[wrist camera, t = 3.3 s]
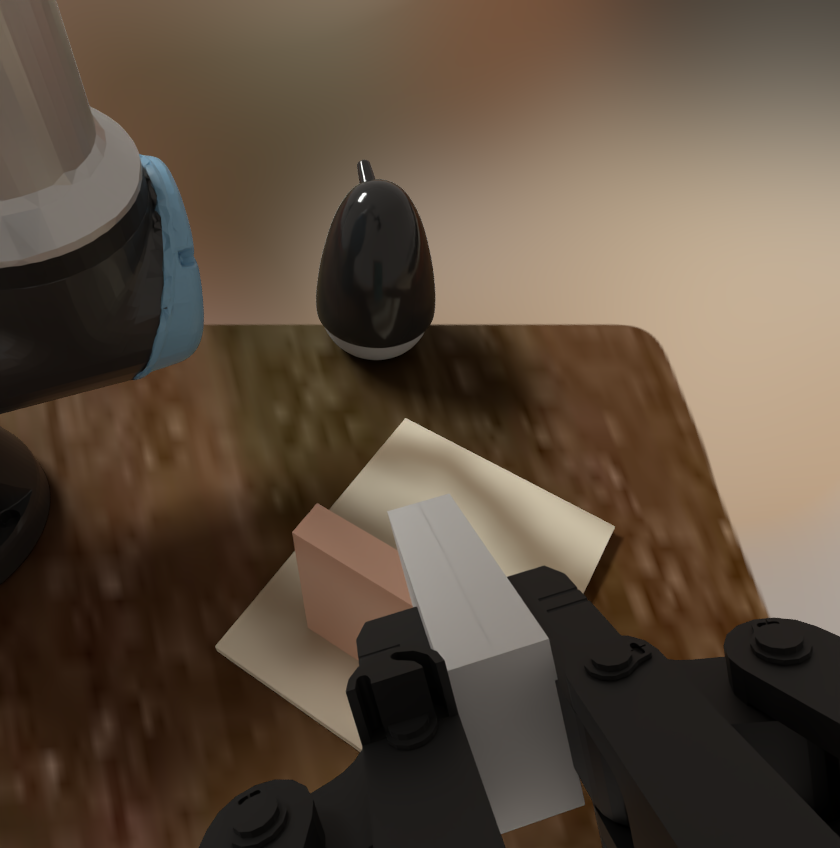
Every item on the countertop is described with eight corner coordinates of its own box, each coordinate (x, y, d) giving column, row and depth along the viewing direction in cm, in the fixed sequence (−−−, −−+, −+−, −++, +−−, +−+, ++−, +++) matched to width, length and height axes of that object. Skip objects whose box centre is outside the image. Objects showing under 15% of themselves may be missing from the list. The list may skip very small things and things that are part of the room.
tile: (445, 717, 38) (472, 642, 28) (307, 627, 41) (292, 532, 31) (462, 685, 39) (494, 603, 30) (328, 600, 42) (318, 500, 33)
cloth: (470, 830, 35) (472, 827, 34) (217, 651, 40) (214, 646, 39) (611, 532, 48) (615, 526, 47) (405, 424, 53) (405, 418, 52)
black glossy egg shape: (413, 293, 63) (425, 143, 51) (444, 368, 57) (466, 217, 45) (309, 306, 61) (297, 152, 49) (330, 386, 55) (321, 232, 43)
